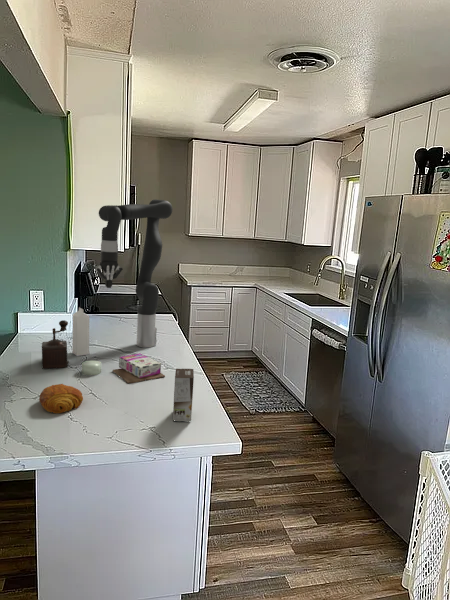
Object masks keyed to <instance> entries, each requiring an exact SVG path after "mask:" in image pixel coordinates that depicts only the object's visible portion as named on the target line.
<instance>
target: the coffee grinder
mask: <svg viewBox="0 0 450 600" xmlns="http://www.w3.org/2000/svg"><path fill="white" fill-rule="evenodd" d="M58 325H59V326H60V329H59V330H56V327H54V328H52V329H51V330H52V338H53V339H51V340H48V341H41V365H42V366H41V368H42V369H41V370H53V369H66V368H68V365H69V360H68V343H67V340H64V339H58V338H57V339H56V334H57V333H61V332H62V333H64V332H65V331H67V326H68V325H69V322H68V321H67V320H60V321H59V322H58Z"/></svg>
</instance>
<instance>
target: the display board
mask: <svg viewBox="0 0 450 600" xmlns="http://www.w3.org/2000/svg"><path fill="white" fill-rule="evenodd" d="M112 372H113V373H114V374H116V375H117V376H118V377H119V376H120V377H119V378H120V379H122V380H123V381H124V382H125V383H127V384H129V385H130V384H134V383H140V382H145V380H146V381H151V379H152V380H156V379H162V378H165V377H166V375H165V374H163V373H162V372H161V373H160V374H156V375H151V376H147V377H143V378H138V377H136V376H135V375H133V374H131V373H129V372H127V371H126V370H124V369H122V368H117V369H112Z"/></svg>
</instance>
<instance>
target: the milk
mask: <svg viewBox="0 0 450 600" xmlns="http://www.w3.org/2000/svg"><path fill="white" fill-rule="evenodd" d="M72 353H73V354H74V355H75V356H76V357H79V356H86V355H90V315H88V314H87V313H85V312H84V309H83V308H81V307H78V310H76V311H75V312H74V313H73V314H72Z"/></svg>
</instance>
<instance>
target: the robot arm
mask: <svg viewBox="0 0 450 600" xmlns="http://www.w3.org/2000/svg"><path fill="white" fill-rule="evenodd" d="M172 214H173V206H172V204H171V202H169V201H168V200H164V199H152V200H150V202H149V203H148V204H144V203H142V204H140V203H139V204H137V203H133V204H132V203H130V204H121V205H112V204H111V205H110V204H109V205H103V206H101V207H100V208H99V210H98V217H99V219H101V220H102V221H104V222H107V223H106V224H107V225H106V226H104V227H102V228H101V243H100V262H99V265H98V266H96V267H94V270H95V271H96V273H97V274H98V275H99V276H100V278H101V279H103V280H105V282H104V283H105V284H104V286H105V287H106V288H107V289H112V287H113V280H115V279H117V278H118V277H119V275H120V274H121V272H122V271H123V267H121V266H120V265H119V263H118V257H119V256H118V254H119V243H118V242H119V241H118V239H119V238H118V236H119V235H118V232H119V229H120V225H121V221H122V220H123V221H128V220H129V221H130V220H137V219H146V228H145V229H146V231H145V236H144V237H145V238H144V242H143V243H144V244H143V250H142V258H141V262H140V263H141V264H140V270H139V274H138V277H137V281H136V286H135V295H136V296H137V298H139V299H141V300H142V305H141V306H139V307H138V308H137V325H136V346H137V347H140V348H146V349H147V348H153V347H155V346H157V327H156V314H157V313H156V312H157V309H158V307H159V293H160V291H159V287H158V285H156V284H155V283H152V276H153V272H154V271H155V269H156V267H157V265H158V264H159V263H160V260H161V256H162V251H163V241H162V237H161V234H160V231H159V230H160V229H159V224H160V220H161V219H162V220H165V219H166V220H167V219H168V218H170V216H172ZM102 271H103V272H102Z"/></svg>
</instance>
